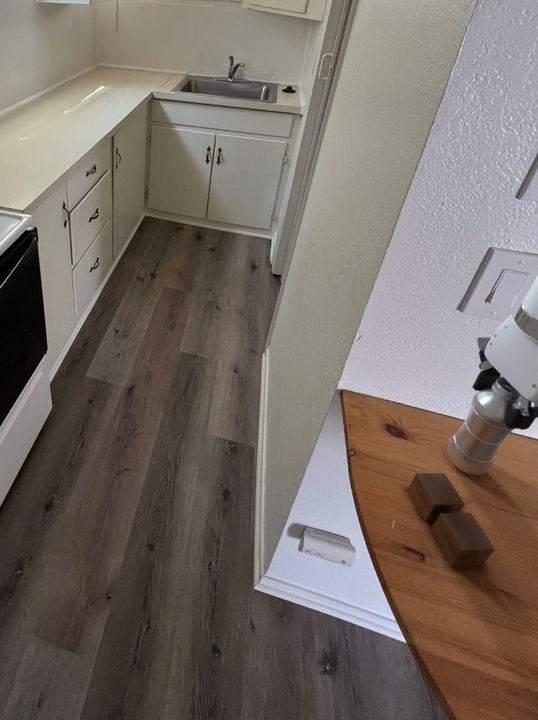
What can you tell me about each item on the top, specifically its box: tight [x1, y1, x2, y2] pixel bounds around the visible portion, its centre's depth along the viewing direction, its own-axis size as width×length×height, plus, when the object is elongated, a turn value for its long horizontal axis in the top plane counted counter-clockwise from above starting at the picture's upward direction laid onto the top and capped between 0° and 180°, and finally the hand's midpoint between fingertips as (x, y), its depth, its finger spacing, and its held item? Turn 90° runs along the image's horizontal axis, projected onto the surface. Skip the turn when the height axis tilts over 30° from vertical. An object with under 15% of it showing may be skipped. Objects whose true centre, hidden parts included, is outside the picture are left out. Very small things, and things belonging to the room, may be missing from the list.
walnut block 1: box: [406, 472, 466, 522], centre depth 70 cm, size 5×5×5 cm
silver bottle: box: [446, 376, 521, 476], centre depth 73 cm, size 6×7×20 cm
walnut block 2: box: [429, 512, 496, 567], centre depth 64 cm, size 5×5×5 cm
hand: (498, 406), depth 71 cm, fingers closed on silver bottle, 6 cm apart
